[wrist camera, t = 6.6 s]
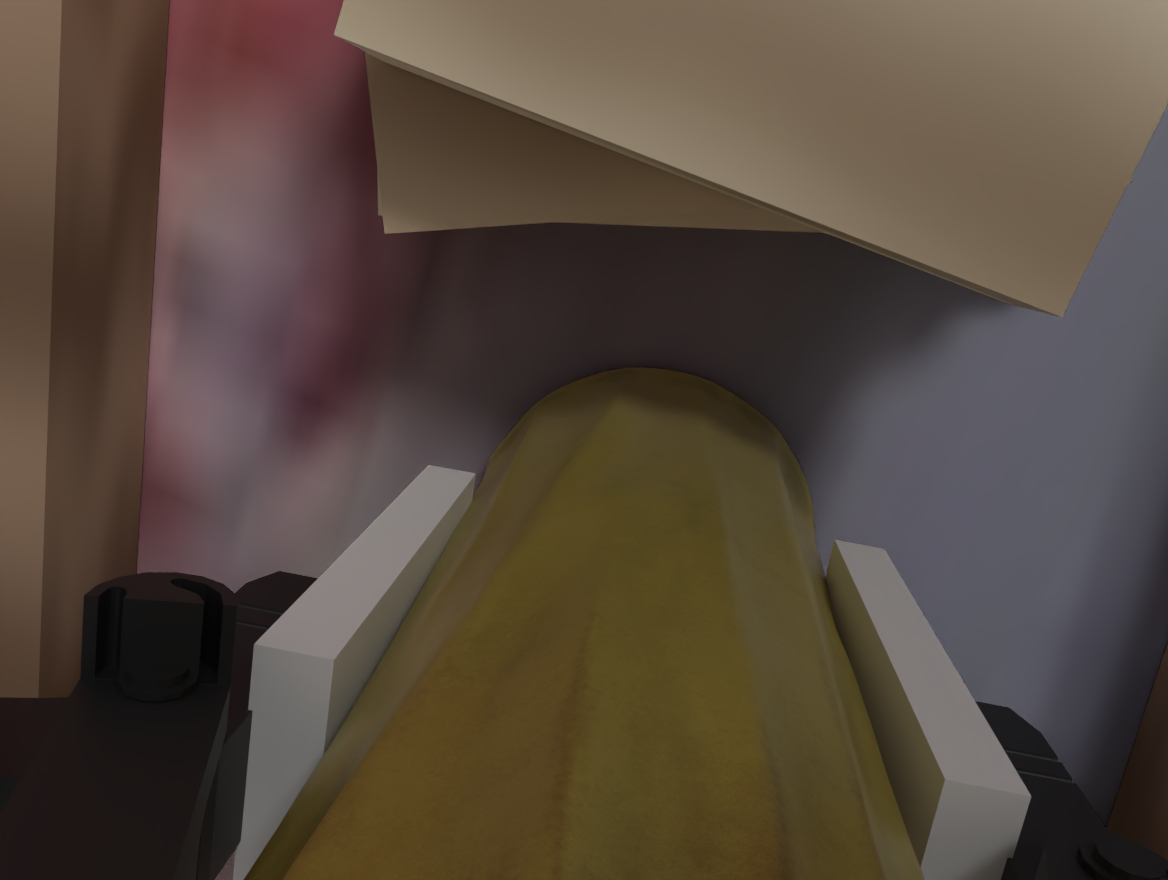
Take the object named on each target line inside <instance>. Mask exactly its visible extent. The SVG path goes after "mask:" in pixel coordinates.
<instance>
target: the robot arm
mask: <svg viewBox="0 0 1168 880" xmlns="http://www.w3.org/2000/svg"><path fill="white" fill-rule="evenodd" d="M475 478H476V473H470V472H465V471H460V470H454V469H449V468H443V467H438V466H432V465H428V466H427V467H426V468H425V469H424V470H423V471H422V472H421V473H420V474H419V475H418V476H417V477H416V478H415V479H414V480H413V481H412V482H411V483H410V484H409V485H408V486H407V487H406V488H405V489H404V490H403V491H402V492H401V494H400V495H399V496H398V497H397V498H396V499H395V500H394V501H393V502H392V503H391V504H390V505H389V506H388V507H387V508H386V509H385V510H384V511H383V512H382V513H381V514H380V515H379V516H378V517H377V518H376V519H375V520H374V521H373V522H372V523H371V524H370V525H369V526H368V527H367V528H366V529H365V531H364V532H363V533H362V534H361V535H360V536H359V537H358V538H357V539H356V540H355V541H354V542H353V543H352V544H351V545H350V546H349V547H348V548H347V549H346V550H345V551H344V552H343V553H342V554H341V555H340V556H339V557H338V558H337V559H336V560H335V561H334V562H333V563H332V564H331V565H330V567H329V568H328V569H327V570H326V571H325V572H324V573H323V574H322V575H321V576H320V577H319V578H312V577H307V576H302V575H297V574H291V573H286V572H281V571H278V572H276V573H273V574H270V575H267V576H265V577H262V578H259V579H256V580H254V581H251V582H248V583H246V584H245V585H244V586H243V587H241V588H240V589H239V590H238V591H237V592H236V593H235V594H234V593H233V592H232V591H231V590H230V589H229V588H227V587H226V586H225V585H224V584H222V583H219V582H216V581H213V580H211V579H208V578H205V577H202V576H196V575H189V574H183V573H141V574H134V575H128V576H121V577H118V578H115V579H112V580H109V581H106V582H104V583H101V584H98V585H97V586H95V587H94V588H93V589H92V590H90V591H89V592H88V593H86V594H85V595H84V605H83V627H82V650H81V672H80V679H79V681H78V683H77V684H76V686H75V688H74V689H73V691H72V693H71V694H70V696H69V697H57V698H12V697H0V880H214V879H215V878H216V876H217V875H218V873H219V872H220V871H221V869H222V868H223V866H224V865H225V863H226V862H227V860H228V859H229V858H230V856H231V855H232V853H233V852H234V850H235V849H236V850H235V861H234V872H233V880H244V878H245V877H246V875H247V874H248V872H249V871H250V869H251V867H252V866H253V864H254V863H255V861H256V860H257V858H258V857H259V855H260V854H261V852H262V851H263V849H264V848H265V846H266V845H267V843H268V842H269V840H270V839H271V837H272V836H273V834H274V833H275V831H276V830H277V828H278V826H279V825H280V823H281V821H282V820H283V818H284V816H285V815H286V813H287V812H288V810H289V808H290V807H291V805H292V803H293V802H294V800H295V799H296V797H297V795H298V794H299V792H300V790H301V789H302V787H303V786H304V784H305V783H306V781H307V780H308V778H309V777H310V775H311V774H312V772H313V771H314V769H315V768H316V766H317V765H318V763H319V762H320V760H321V759H322V757H323V755H324V754H325V752H326V751H327V749H328V748H329V746H330V744H331V743H332V741H333V740H334V738H335V736H336V735H337V733H338V731H339V730H340V728H341V726H342V725H343V723H344V722H345V720H346V718H347V717H348V715H349V713H350V712H351V710H352V708H353V707H354V705H355V703H356V702H357V700H358V698H359V697H360V695H361V693H362V692H363V690H364V688H365V686H366V685H367V683H368V681H369V680H370V678H371V676H372V675H373V673H374V671H375V670H376V668H377V666H378V665H379V663H380V661H381V660H382V658H383V656H384V654H385V653H386V651H387V649H388V648H389V646H390V644H391V642H392V641H393V639H394V637H395V635H396V634H397V632H398V630H399V628H400V626H401V625H402V623H403V621H404V619H405V617H406V616H407V614H408V612H409V610H410V609H411V607H412V605H413V603H414V601H415V600H416V598H417V596H418V594H419V593H420V591H421V589H422V587H423V586H424V584H425V582H426V580H427V579H428V577H429V575H430V573H431V572H432V570H433V568H434V566H435V564H436V563H437V561H438V559H439V557H440V555H441V553H442V551H443V549H444V548H445V546H446V544H447V542H448V541H449V539H450V537H451V535H452V534H453V532H454V530H455V529H456V527H457V525H458V524H459V522H460V521H461V519H462V517H463V516H464V514H465V512H466V511H467V509H468V507H469V506H470V504H471V502H472V499H473V492H474V485H475ZM826 583H827V588H828V593H829V599H830V604H831V609H832V613H833V617H834V621H835V625H836V629H837V632H838V634H839V636H840V639H841V641H842V644H843V646H844V648H845V651H846V653H847V656H848V658H849V661H850V664H851V666H852V669H853V672H854V675H855V677H856V680H857V683H858V686H859V689H860V692H861V695H862V698H863V701H864V704H865V707H866V710H867V713H868V716H869V719H870V722H871V725H872V728H873V731H874V734H875V737H876V740H877V744H878V747H879V750H880V754H881V757H882V760H883V763H884V766H885V769H886V773H887V776H888V778H889V781H890V784H891V787H892V790H893V793H894V796H895V799H896V801H897V804H898V807H899V810H900V813H901V816H902V819H903V821H904V824H905V827H906V830H907V833H908V836H909V838H910V841H911V844H912V846H913V849H914V852H915V854H916V857H917V860H918V863H919V865H920V868H921V871H922V873H923V876H924V879H925V880H1168V860H1166V859H1164V858H1163V857H1161V856H1160V855H1158V854H1156V853H1155V852H1153V851H1151V850H1150V849H1148V848H1146V847H1145V846H1142V845H1140V844H1137V843H1135V842H1133V841H1130V840H1128V839H1126V838H1123V837H1121V836H1118V835H1116V834H1113V833H1109V832H1108V830H1107V829H1106V827H1105V826H1104V825H1103V823H1102V822H1101V820H1100V819H1099V817H1098V816H1097V814H1096V813H1095V811H1094V810H1093V808H1092V807H1091V806H1090V804H1089V803H1088V801H1087V800H1086V798H1085V797H1084V795H1083V794H1082V792H1081V791H1080V789H1079V788H1078V786H1077V785H1076V784H1074V783H1072V778H1071V776H1070V775H1069V773H1068V772H1067V770H1066V769H1065V767H1064V766H1063V765H1062V763H1061V762H1057V759H1058V757H1057V756H1056V754H1055V753H1054V751H1053V750H1052V748H1051V747H1050V746H1049V744H1048V743H1047V741H1046V740H1045V738H1044V737H1043V735H1042V734H1041V732H1039V731H1038V730H1037V729H1035V728H1034V727H1033V726H1032V725H1030V724H1029V723H1028V722H1026V721H1025V720H1024V719H1023V718H1021V717H1020V716H1019V715H1018V714H1016V713H1015V712H1014V711H1012V710H1011V709H1010V708H1007V707H1002V706H997V705H992V704H987V703H981V702H976V701H975V700H974V699H973V697H972V695H971V694H970V692H969V690H968V689H967V687H966V685H965V684H964V682H963V680H962V678H961V677H960V675H959V673H958V672H957V670H956V668H955V667H954V665H953V663H952V662H951V660H950V658H949V657H948V655H947V653H946V652H945V650H944V648H943V646H942V645H941V643H940V641H939V640H938V638H937V636H936V635H935V633H934V631H933V630H932V628H931V626H930V625H929V623H928V621H927V620H926V618H925V616H924V615H923V613H922V611H921V609H920V608H919V606H918V604H917V603H916V601H915V599H914V598H913V596H912V594H911V593H910V591H909V589H908V588H907V586H906V584H905V583H904V581H903V579H902V577H901V576H900V574H899V572H898V571H897V569H896V567H895V566H894V564H893V562H892V561H891V559H890V557H889V556H888V554H887V552H886V551H885V549H883V548H877V547H872V546H867V545H861V544H856V543H850V542H845V541H840V540H835V541H834V545H833V549H832V553H831V557H830V562H829V566H828V570H827V574H826Z"/></svg>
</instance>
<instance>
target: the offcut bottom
mask: <svg viewBox="0 0 1168 880" xmlns="http://www.w3.org/2000/svg"><path fill="white" fill-rule="evenodd" d="M377 174H378V169H377ZM378 216H383V215H382V206H381V197H380V187H379V178H378ZM558 223H583V224H609V225H635V226H661V227H686V228H712V229H738V230H764V231H789V232H815V233H824V232H821V231H819V230H816V229H814V228H811V227H809V226H806V225H803V224H801V223H798V222H796V221H793V220H790V219H788V218H785V217H783V216H780V215H778V214H775V213H772V212H770V211H767V210H765V209H762V208H753V209H739V210H724V211H710V212H695V213H681V214H666V215H652V216H637V217H623V218H608V219H594V220H579V221H565V222H558Z"/></svg>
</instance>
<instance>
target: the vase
mask: <svg viewBox="0 0 1168 880" xmlns="http://www.w3.org/2000/svg"><path fill="white" fill-rule="evenodd" d="M244 880H925V879H924V876H923V873H922V871H921V868H920V865H919V863H918V860H917V857H916V854H915V852H914V849H913V846H912V844H911V841H910V838H909V836H908V833H907V830H906V827H905V824H904V821H903V819H902V816H901V813H900V810H899V807H898V804H897V801H896V799H895V796H894V793H893V790H892V787H891V784H890V781H889V778H888V776H887V773H886V769H885V766H884V763H883V760H882V757H881V754H880V750H879V747H878V744H877V740H876V737H875V734H874V731H873V728H872V725H871V722H870V719H869V716H868V713H867V710H866V707H865V704H864V701H863V698H862V695H861V692H860V689H859V686H858V683H857V680H856V677H855V675H854V672H853V669H852V666H851V664H850V661H849V658H848V656H847V653H846V651H845V648H844V646H843V644H842V641H841V639H840V636H839V634H838V632H837V629H836V625H835V621H834V617H833V613H832V609H831V604H830V599H829V593H828V588H827V583H826V579H825V574H824V570H823V566H822V563H821V560H820V557H819V554H818V551H817V548H816V541H815V517H814V509H813V504H812V498H811V495H810V492H809V488H808V485H807V481H806V479H805V476H804V474H803V472H802V470H801V467H800V465H799V463H798V461H797V460H796V458H795V456H794V454H793V453H792V451H791V449H790V447H789V446H788V444H787V442H786V441H785V439H784V438H783V436H782V435H781V433H780V432H779V431H778V429H777V428H776V427H775V426H774V425H773V424H772V423H771V422H770V421H769V420H768V419H767V418H766V417H764V416H763V415H762V414H761V413H759V412H758V411H757V410H756V409H754V408H753V407H752V406H751V405H749V404H748V403H746V402H745V401H743V400H742V399H740V398H739V397H737V396H736V395H734V394H733V393H731V392H729V391H727V390H726V389H724V388H722V387H721V386H719V385H717V384H715V383H713V382H711V381H708V380H705V379H703V378H700V377H698V376H695V375H691V374H687V373H682V372H678V371H674V370H667V369H658V368H649V367H628V368H622V369H616V370H610V371H604V372H601V373H598V374H595V375H592V376H588V377H585V378H582V379H579V380H577V381H575V382H572V383H570V384H568V385H565V386H563V387H561V388H558V389H557V390H555V391H554V392H552V393H551V394H549V395H547V396H546V397H544V398H543V399H541V400H540V401H539V402H538V403H537V404H535V405H534V406H533V407H532V408H531V409H530V410H529V411H528V412H527V413H526V414H525V415H524V416H523V417H522V418H521V420H520V421H519V422H518V423H517V424H516V426H515V427H514V428H513V429H512V430H511V431H510V433H509V434H508V435H507V436H506V437H505V438H504V440H503V441H502V442H501V443H500V445H499V446H498V447H497V449H496V450H495V452H494V453H493V454H492V455H491V456H490V457H489V459H488V463H487V466H486V470H485V473H484V476H483V480H482V481H481V483H480V485H479V487H478V488H477V490H476V492H475V493H474V495H473V499H472V502H471V504H470V506H469V507H468V509H467V511H466V512H465V514H464V516H463V517H462V519H461V521H460V522H459V524H458V525H457V527H456V529H455V530H454V532H453V534H452V535H451V537H450V539H449V541H448V542H447V544H446V546H445V548H444V549H443V551H442V553H441V555H440V557H439V559H438V561H437V563H436V564H435V566H434V568H433V570H432V572H431V573H430V575H429V577H428V579H427V580H426V582H425V584H424V586H423V587H422V589H421V591H420V593H419V594H418V596H417V598H416V600H415V601H414V603H413V605H412V607H411V609H410V610H409V612H408V614H407V616H406V617H405V619H404V621H403V623H402V625H401V626H400V628H399V630H398V632H397V634H396V635H395V637H394V639H393V641H392V642H391V644H390V646H389V648H388V649H387V651H386V653H385V654H384V656H383V658H382V660H381V661H380V663H379V665H378V666H377V668H376V670H375V671H374V673H373V675H372V676H371V678H370V680H369V681H368V683H367V685H366V686H365V688H364V690H363V692H362V693H361V695H360V697H359V698H358V700H357V702H356V703H355V705H354V707H353V708H352V710H351V712H350V713H349V715H348V717H347V718H346V720H345V722H344V723H343V725H342V726H341V728H340V730H339V731H338V733H337V735H336V736H335V738H334V740H333V741H332V743H331V744H330V746H329V748H328V749H327V751H326V752H325V754H324V755H323V757H322V759H321V760H320V762H319V763H318V765H317V766H316V768H315V769H314V771H313V772H312V774H311V775H310V777H309V778H308V780H307V781H306V783H305V784H304V786H303V787H302V789H301V790H300V792H299V794H298V795H297V797H296V799H295V800H294V802H293V803H292V805H291V807H290V808H289V810H288V812H287V813H286V815H285V816H284V818H283V820H282V821H281V823H280V825H279V826H278V828H277V830H276V831H275V833H274V834H273V836H272V837H271V839H270V840H269V842H268V843H267V845H266V846H265V848H264V849H263V851H262V852H261V854H260V855H259V857H258V858H257V860H256V861H255V863H254V864H253V866H252V867H251V869H250V871H249V872H248V874H247V875H246V877H245V878H244Z"/></svg>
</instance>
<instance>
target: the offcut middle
mask: <svg viewBox="0 0 1168 880" xmlns="http://www.w3.org/2000/svg"><path fill="white" fill-rule="evenodd" d="M365 60H366V69H367V78H368V87H369V96H370V105H371V114H372V124H373V133H374V142H375V151H376V160H377V169H378V178H379V187H380V197H381V206H382V215H383V224H384V233H385V234H391V233H405V232H420V231H434V230H449V229H463V228H478V227H492V226H507V225H521V224H536V223H550V222H565V221H579V220H594V219H608V218H623V217H637V216H652V215H666V214H681V213H695V212H710V211H724V210H739V209H753V208H760V207H757V206H754V205H752V204H749V203H747V202H744V201H741V200H739V199H736V198H734V197H731V196H729V195H726V194H723V193H721V192H718V191H716V190H713V189H711V188H708V187H705V186H703V185H700V184H698V183H695V182H693V181H690V180H687V179H685V178H682V177H680V176H677V175H674V174H672V173H669V172H667V171H664V170H662V169H659V168H656V167H654V166H651V165H649V164H646V163H644V162H641V161H638V160H636V159H633V158H631V157H628V156H625V155H623V154H620V153H618V152H615V151H613V150H610V149H607V148H605V147H602V146H600V145H597V144H595V143H592V142H589V141H587V140H584V139H582V138H579V137H577V136H574V135H571V134H569V133H566V132H564V131H561V130H558V129H556V128H553V127H551V126H548V125H546V124H543V123H540V122H538V121H535V120H533V119H530V118H528V117H525V116H522V115H520V114H517V113H515V112H512V111H509V110H507V109H504V108H502V107H499V106H497V105H494V104H491V103H489V102H486V101H484V100H481V99H479V98H476V97H473V96H471V95H468V94H466V93H463V92H460V91H458V90H455V89H453V88H450V87H448V86H445V85H442V84H440V83H437V82H435V81H432V80H430V79H427V78H424V77H422V76H419V75H417V74H414V73H412V72H409V71H406V70H404V69H401V68H399V67H396V66H393V65H391V64H388V63H386V62H383V61H381V60H379V59H378V58H376V57H374V56H372V55H370V54H368V53H366V52H365ZM1130 182H1132V177H1131V179H1130V181H1129V183H1130Z"/></svg>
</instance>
